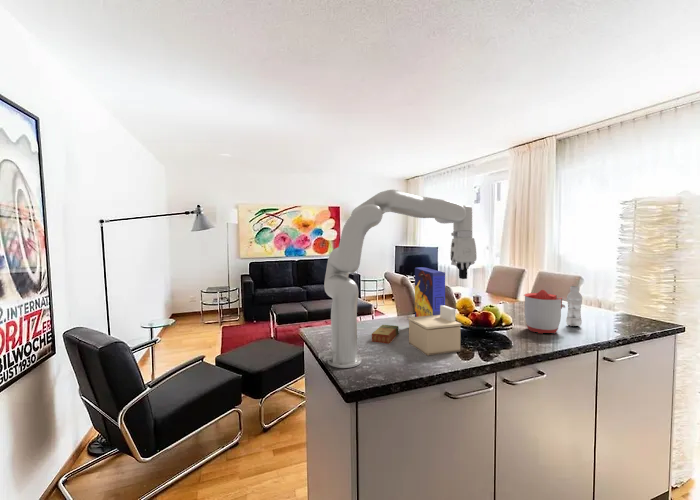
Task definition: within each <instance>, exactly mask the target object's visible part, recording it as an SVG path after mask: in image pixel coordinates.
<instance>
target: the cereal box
mask: <svg viewBox="0 0 700 500" xmlns="http://www.w3.org/2000/svg"><path fill="white" fill-rule="evenodd" d="M441 305H445V306H446V272H444V271H441V270H436V269H432V268H428V267H424V266H423V267H422V266H421V267H415V268H414V317H420V316H431V315H440V306H441Z"/></svg>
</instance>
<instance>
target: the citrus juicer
mask: <svg viewBox="0 0 700 500" xmlns="http://www.w3.org/2000/svg"><path fill="white" fill-rule="evenodd" d="M523 296H524V320H525V324H526V327H527V329H528V330H529V331H530V332H533V333H535V332H538V333H537V334H543V333H554V334H556V333H557V331H558V330H559V326H560V324H561V318H562V309H563V308H564V309H566V306H565V304H563V297H560V298H557V295H556V294H553V293H552V294H551V293H548V292H547V291H546V290H545V289H541V290H539V291H538V292H530V293H529V292H528V293H525V294H524V295H523ZM555 332H556V333H555Z"/></svg>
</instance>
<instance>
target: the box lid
mask: <svg viewBox="0 0 700 500" xmlns="http://www.w3.org/2000/svg"><path fill="white" fill-rule="evenodd" d="M407 320H408V321H412V322H414V323H416V324H418V325H420V326H422V327H423V328H425V329H434V328H444V327H453V326H460V327H461V326H462V325H463V324H462V323H461V322H458V321H456V308H453V307H450V306H448V305H446V304H445V305H441V306H440V315H431V316H420V317H415V316H411V317H407Z"/></svg>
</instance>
